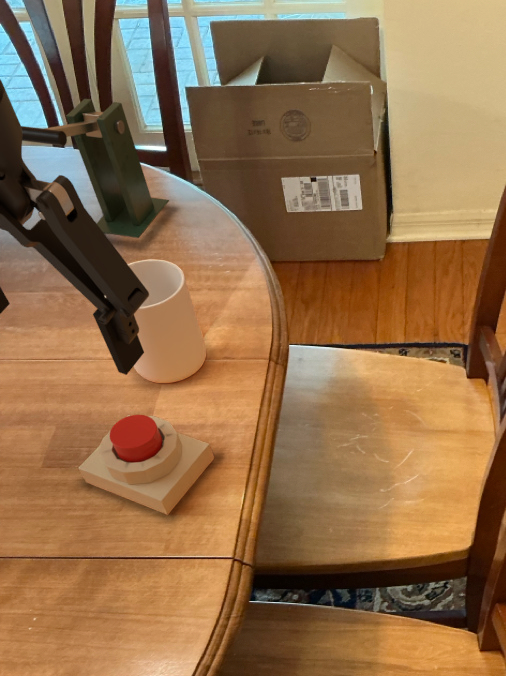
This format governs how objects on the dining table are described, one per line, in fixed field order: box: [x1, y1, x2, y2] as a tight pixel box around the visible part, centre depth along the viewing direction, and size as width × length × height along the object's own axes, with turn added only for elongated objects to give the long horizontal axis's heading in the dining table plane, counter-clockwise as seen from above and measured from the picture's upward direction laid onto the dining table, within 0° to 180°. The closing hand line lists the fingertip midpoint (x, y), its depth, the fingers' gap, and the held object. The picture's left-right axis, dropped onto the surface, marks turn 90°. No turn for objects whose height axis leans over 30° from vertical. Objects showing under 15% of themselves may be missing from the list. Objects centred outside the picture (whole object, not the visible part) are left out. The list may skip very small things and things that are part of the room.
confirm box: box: [78, 414, 215, 516], centre depth 75 cm, size 10×8×4 cm
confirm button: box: [109, 414, 163, 463], centre depth 73 cm, size 4×4×2 cm
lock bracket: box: [65, 98, 170, 239], centre depth 97 cm, size 9×7×15 cm
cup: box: [105, 258, 207, 384], centre depth 84 cm, size 8×12×10 cm
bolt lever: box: [21, 110, 104, 147], centre depth 88 cm, size 13×6×2 cm, turn 164°
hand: (63, 337), depth 65 cm, fingers open, 13 cm apart
